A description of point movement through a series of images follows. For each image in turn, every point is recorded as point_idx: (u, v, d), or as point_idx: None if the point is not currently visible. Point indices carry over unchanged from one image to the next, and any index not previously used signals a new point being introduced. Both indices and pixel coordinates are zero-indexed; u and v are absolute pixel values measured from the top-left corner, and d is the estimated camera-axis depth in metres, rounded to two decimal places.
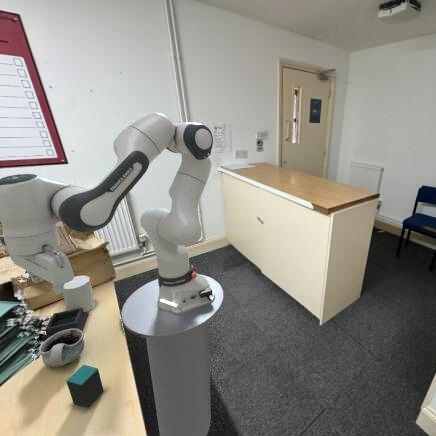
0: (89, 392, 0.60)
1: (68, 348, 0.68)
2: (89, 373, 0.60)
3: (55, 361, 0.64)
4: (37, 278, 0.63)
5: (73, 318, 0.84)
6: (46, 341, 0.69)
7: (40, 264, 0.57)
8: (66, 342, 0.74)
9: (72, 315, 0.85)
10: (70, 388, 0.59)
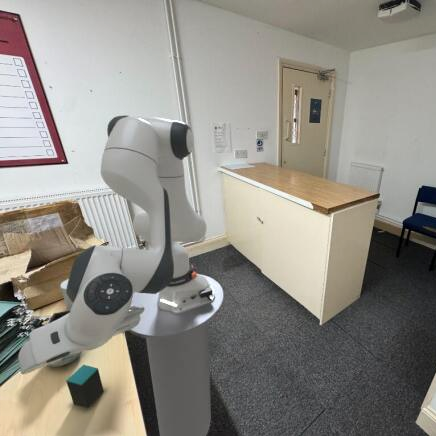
0: (89, 392, 0.60)
1: None
2: (89, 373, 0.60)
3: None
4: None
5: None
6: None
7: None
8: None
9: None
10: (70, 388, 0.59)
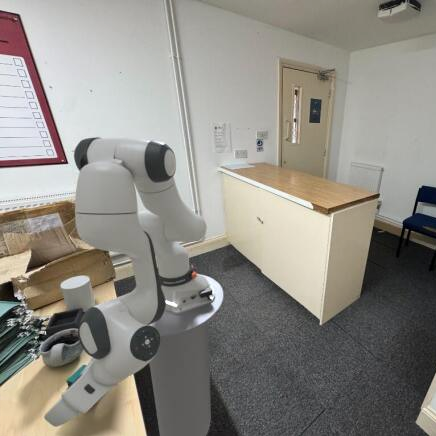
0: None
1: (68, 348, 0.68)
2: None
3: (55, 361, 0.64)
4: None
5: (73, 318, 0.84)
6: (46, 341, 0.69)
7: None
8: (66, 342, 0.74)
9: (72, 315, 0.85)
10: None
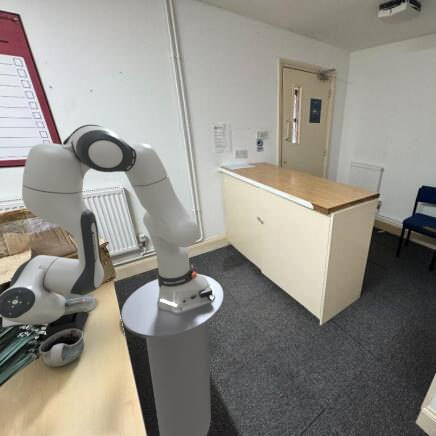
0: None
1: (68, 348, 0.68)
2: None
3: (55, 361, 0.64)
4: None
5: None
6: (46, 341, 0.69)
7: None
8: (66, 342, 0.74)
9: None
10: None
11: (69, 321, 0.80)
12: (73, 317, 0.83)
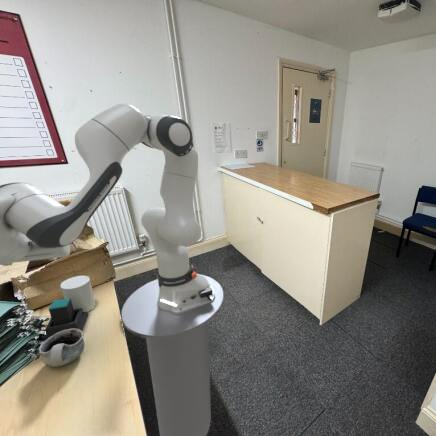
0: (56, 319, 0.78)
1: (68, 348, 0.68)
2: (60, 305, 0.78)
3: (55, 361, 0.64)
4: None
5: None
6: (46, 341, 0.69)
7: (34, 254, 0.62)
8: (66, 342, 0.74)
9: None
10: None
11: (69, 321, 0.80)
12: (73, 317, 0.83)
